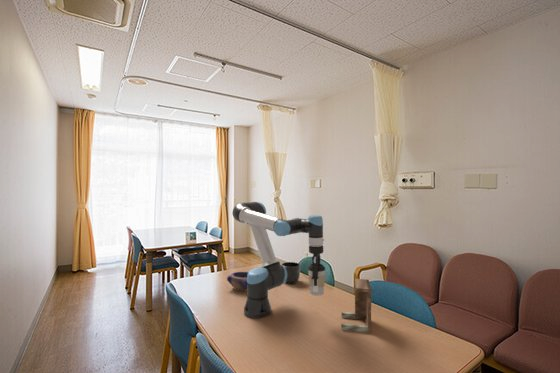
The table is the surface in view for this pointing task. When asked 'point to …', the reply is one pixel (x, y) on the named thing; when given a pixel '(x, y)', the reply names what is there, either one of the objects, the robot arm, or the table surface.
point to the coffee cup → (320, 279)
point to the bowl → (238, 280)
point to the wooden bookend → (360, 307)
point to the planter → (292, 272)
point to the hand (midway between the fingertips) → (316, 288)
